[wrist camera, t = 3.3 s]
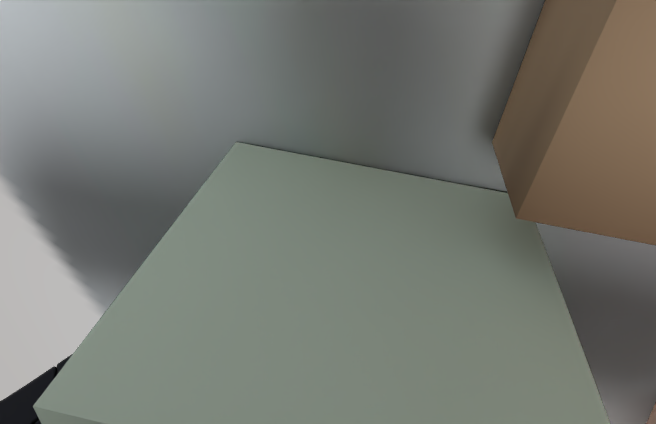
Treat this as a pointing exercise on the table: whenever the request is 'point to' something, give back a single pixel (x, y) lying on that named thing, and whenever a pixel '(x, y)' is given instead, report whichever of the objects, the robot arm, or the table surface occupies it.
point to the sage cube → (333, 309)
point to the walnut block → (585, 120)
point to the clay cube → (652, 416)
